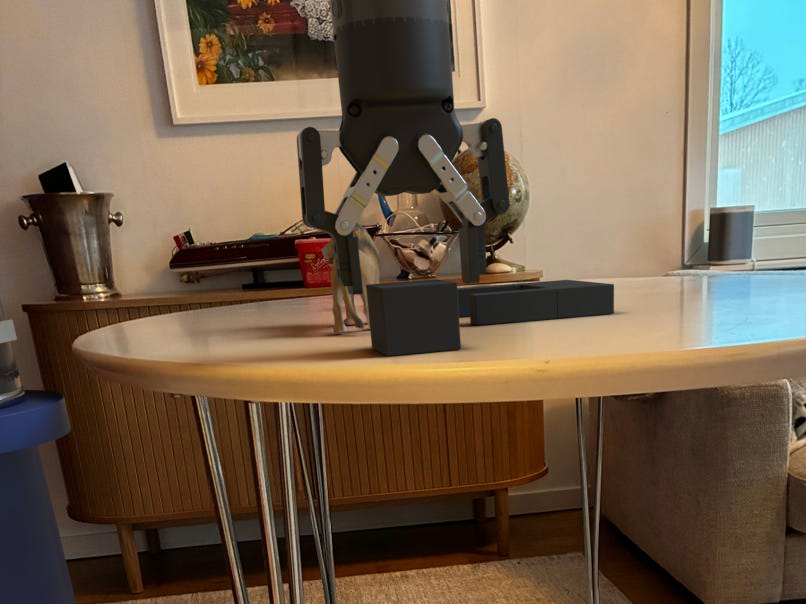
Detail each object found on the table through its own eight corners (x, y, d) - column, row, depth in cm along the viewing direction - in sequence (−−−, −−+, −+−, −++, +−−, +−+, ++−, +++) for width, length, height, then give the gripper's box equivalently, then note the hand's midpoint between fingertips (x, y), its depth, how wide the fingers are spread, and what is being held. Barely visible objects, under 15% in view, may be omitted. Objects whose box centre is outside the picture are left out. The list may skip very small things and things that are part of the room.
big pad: (476, 325, 83) (474, 295, 82) (443, 316, 93) (441, 289, 92) (614, 313, 86) (614, 284, 85) (568, 306, 96) (567, 279, 95)
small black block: (387, 356, 67) (380, 287, 65) (371, 348, 72) (365, 284, 70) (461, 349, 68) (457, 282, 66) (441, 342, 73) (437, 279, 71)
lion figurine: (328, 322, 94) (317, 222, 90) (383, 318, 95) (374, 219, 91) (333, 337, 80) (320, 220, 77) (396, 332, 81) (386, 216, 78)
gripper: (477, 31, 67) (491, 278, 74) (273, 35, 63) (307, 295, 70) (513, 9, 60) (525, 282, 67) (287, 12, 57) (323, 300, 63)
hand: (413, 288), depth 69 cm, fingers open, 8 cm apart
